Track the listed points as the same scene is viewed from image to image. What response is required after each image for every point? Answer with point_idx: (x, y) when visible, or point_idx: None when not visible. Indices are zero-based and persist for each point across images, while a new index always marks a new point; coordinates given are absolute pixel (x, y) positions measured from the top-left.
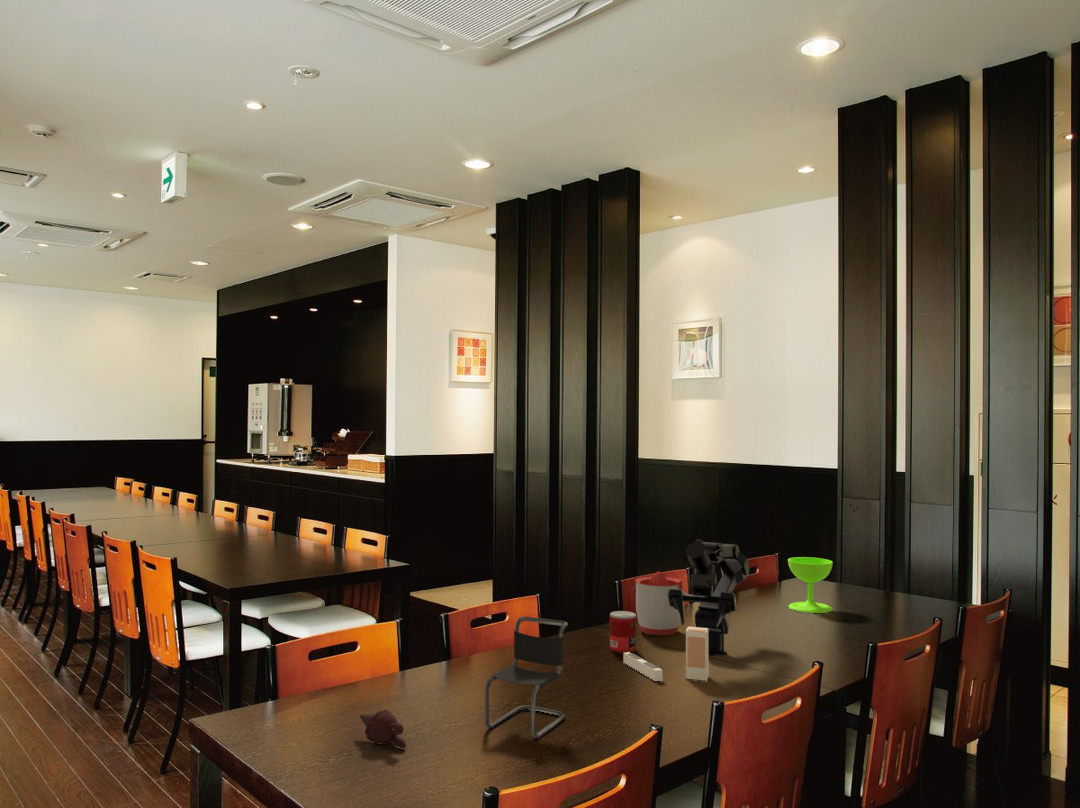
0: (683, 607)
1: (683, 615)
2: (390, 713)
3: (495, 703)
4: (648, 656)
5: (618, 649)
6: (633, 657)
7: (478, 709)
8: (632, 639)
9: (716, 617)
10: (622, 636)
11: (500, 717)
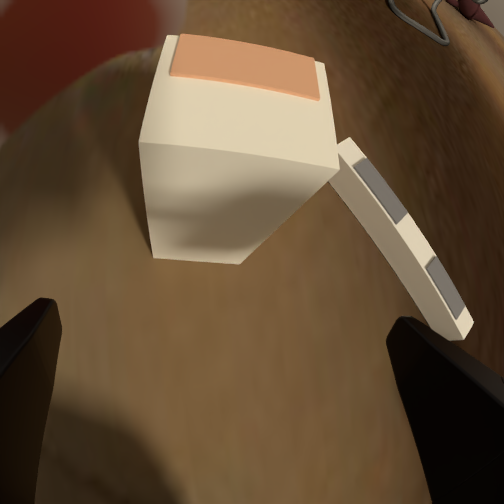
0: (485, 497)
1: (450, 359)
2: (475, 3)
3: (476, 70)
4: (399, 439)
5: None
6: (445, 271)
7: (473, 57)
8: None
9: (6, 363)
10: None
11: (439, 19)
